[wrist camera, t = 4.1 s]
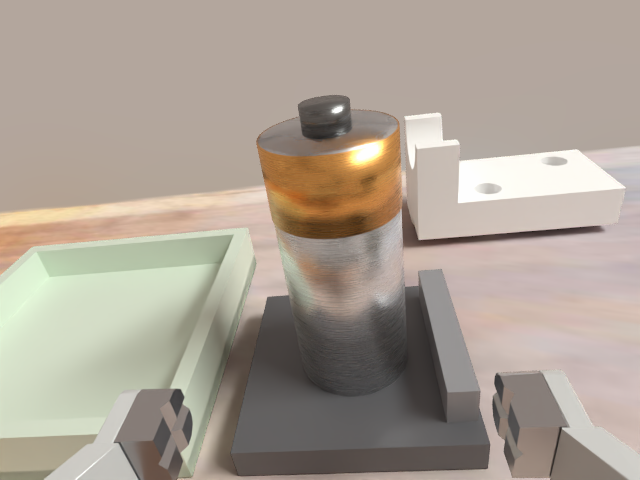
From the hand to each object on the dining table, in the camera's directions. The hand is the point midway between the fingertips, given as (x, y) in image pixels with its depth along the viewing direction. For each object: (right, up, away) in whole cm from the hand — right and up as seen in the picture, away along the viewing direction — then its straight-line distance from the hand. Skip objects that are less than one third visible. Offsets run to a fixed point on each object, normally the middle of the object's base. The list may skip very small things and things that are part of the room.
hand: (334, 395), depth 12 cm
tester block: (+1, -3, +11) cm, 11 cm away
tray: (-13, -2, +15) cm, 20 cm away
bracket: (+13, +5, +23) cm, 27 cm away
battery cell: (+1, -1, +10) cm, 10 cm away
